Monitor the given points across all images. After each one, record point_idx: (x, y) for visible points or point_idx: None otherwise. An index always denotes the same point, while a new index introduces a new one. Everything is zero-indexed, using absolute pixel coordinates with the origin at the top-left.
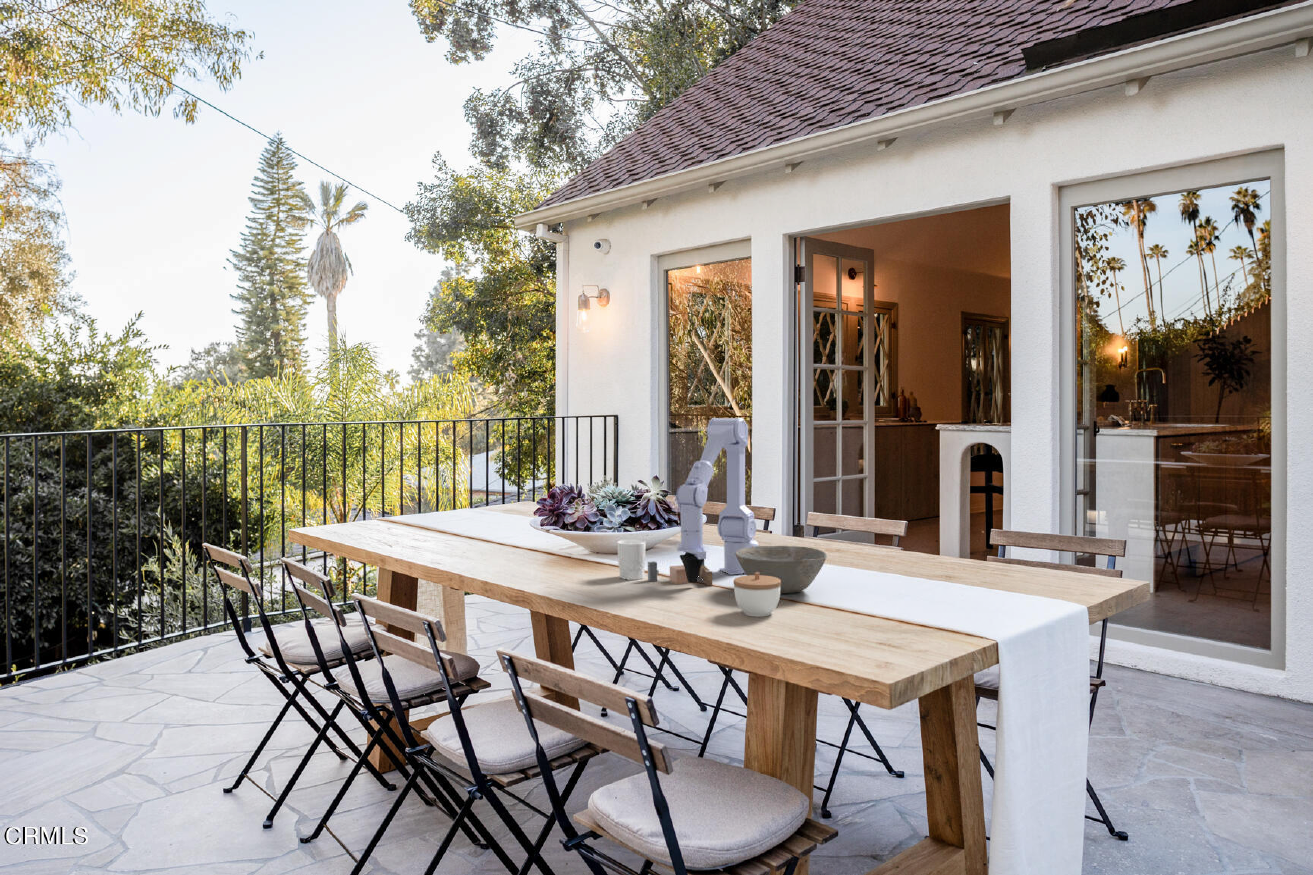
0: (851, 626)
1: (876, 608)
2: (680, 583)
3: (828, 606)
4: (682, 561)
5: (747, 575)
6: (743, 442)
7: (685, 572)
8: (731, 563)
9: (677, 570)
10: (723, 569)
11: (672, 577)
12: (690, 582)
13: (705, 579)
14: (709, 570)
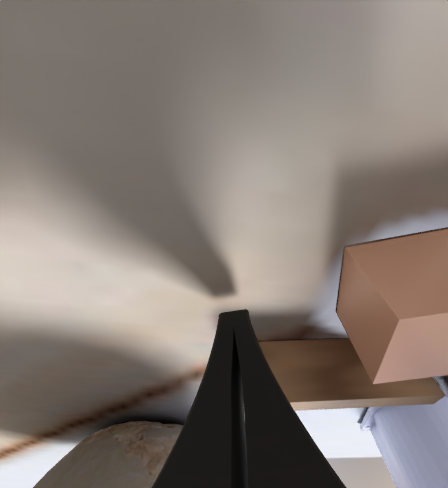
0: None
1: (25, 471)
2: (343, 266)
3: (16, 453)
4: (301, 450)
5: (100, 472)
6: None
7: (370, 335)
8: (412, 434)
9: (393, 319)
10: (444, 393)
11: (432, 252)
12: (219, 316)
13: (291, 357)
14: (302, 409)
